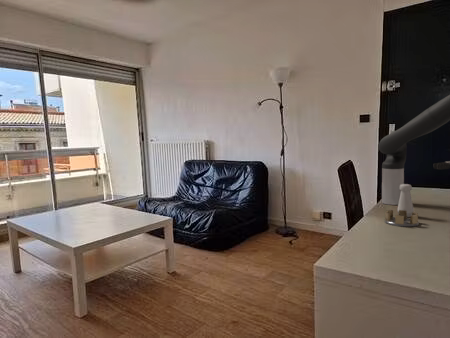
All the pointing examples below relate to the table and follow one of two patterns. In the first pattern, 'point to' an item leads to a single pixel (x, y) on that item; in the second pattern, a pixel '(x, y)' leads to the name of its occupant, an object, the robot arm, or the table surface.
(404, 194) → the salt shaker
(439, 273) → the table surface
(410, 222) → the disc with wooden blocks
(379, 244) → the table surface
